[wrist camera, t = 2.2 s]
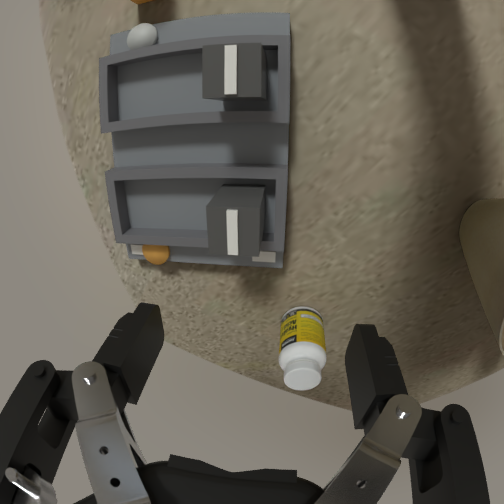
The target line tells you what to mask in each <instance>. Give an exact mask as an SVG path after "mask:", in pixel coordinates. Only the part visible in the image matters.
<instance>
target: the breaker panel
mask: <svg viewBox="0 0 504 504" xmlns="http://www.w3.org/2000/svg"><path fill="white" fill-rule="evenodd" d="M230 43H262V46H263V49H264V52H265V54H266V57H267V101H266V100H236V101H220V100H212V99H203V98H202V48H203V46H204V45H215V44H230ZM99 103H100V124H101V133H108V132H112V145H113V156H114V166H115V167H114V168H112V169H110V170H108V171H106V172H105V177H106V185H107V192H108V199H109V205H110V211H111V217H112V223H113V229H114V234H115V239H116V243H125V244H126V246H127V251H128V256H129V258H130V259H144V260H148V261H149V262H150V263H152V264H156V265H160V264H163V263H164V262H166V261H173V262H188V263H204V264H220V265H236V266H254V267H272V268H282V267H283V252H284V240H285V222H286V202H287V179H288V140H289V116H290V13H235V14H221V15H210V16H201V17H193V18H186V19H180V20H174V21H168V22H163V23H158V24H153V25H151V24H148V23H142V24H139V25H137V26H135V27H134V28H133V29H131V30H128V31H124V32H120V33H117V34H113V35H111V39H110V55H109V56H106V57H102V58H99ZM223 184H254V185H266V188H265V225H264V231H263V237H262V242H261V248H260V254H259V257H252V256H234V255H216V254H209V249H208V234H207V218H206V206H207V204H208V203H209V202H210V200H211V199H212V198H213V197H214V195H215V194H216V193H217V191H218V190H219V189H220V188H221V186H222V185H223Z"/></svg>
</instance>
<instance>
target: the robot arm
mask: <svg viewBox="0 0 504 504" xmlns="http://www.w3.org/2000/svg"><path fill="white" fill-rule="evenodd" d="M163 342H164V329H163V324H162V318H161V313H160V308H159V306H158V305H155V304H148V303H140V304H139V305H138V307H137V308H136V310H135V311H134V313H127V314H126V315H124V316H123V317H122V318H120V319H119V320H118V322H117V323H116V325H115V326H114V329H113V330H112V331H111V332H110V334H109V336H108V337H107V339H106V340H105V342H104V343H103V345H102V346H101V348H100V349H99V351H98V353H97V354H96V356H95V357H94V359H93V360H92V361H90V362H85V363H82V364H80V365H79V366H78V367H76V368H75V370H74V371H59V370H55V368H54V366H53V365H52V363H51V362H49V361H46V360H40V361H36V362H34V363H33V364H31V365H30V366H29V368H28V369H27V370H26V372H25V374H24V375H23V377H22V378H21V380H20V381H19V383H18V385H17V386H16V388H15V390H14V391H13V393H12V394H11V396H10V398H9V400H8V402H7V403H6V405H5V407H4V408H3V410H2V412H1V414H0V504H57V499H56V494H55V490H54V488H53V486H52V483H53V480H54V477H55V475H56V472H57V469H58V467H59V464H60V461H61V459H62V456H63V454H64V451H65V449H66V446H67V444H68V442H69V439H70V437H71V434H72V432H73V430H74V427H75V426H76V432H77V436H78V441H79V445H80V449H81V452H82V456H83V460H84V463H85V467H86V470H87V473H88V477H89V480H90V483H91V486H92V489H93V492H94V493H93V494H91V495H90V496H88V497H86V498H84V499H82V500H80V501H78V502H76V503H74V504H377V502H378V501H379V499H380V498H381V496H382V495H383V493H384V492H385V490H386V488H387V487H388V485H389V483H390V482H391V480H392V479H393V477H394V475H395V474H396V472H397V470H398V468H399V466H400V464H401V460H400V458H401V457H402V458H408V459H409V466H410V475H411V486H412V498H413V504H490V499H489V493H488V487H487V482H486V476H485V472H484V467H483V462H482V458H481V454H480V450H479V446H478V443H477V439H476V435H475V431H474V428H473V425H472V421H471V418H470V415H469V413H468V412H467V410H466V409H465V408H464V407H462V406H460V405H457V404H450V405H447V406H446V407H445V408H444V409H443V410H442V411H441V412H440V411H434V410H429V409H424V408H421V406H420V404H419V402H418V401H417V400H416V399H415V398H413V397H412V396H409V395H408V393H407V389H406V386H405V383H404V380H403V376H402V373H401V370H400V367H399V366H398V361H397V358H395V356H396V355H395V352H394V349H393V347H392V345H391V344H390V343H389V342H388V340H387V339H386V338H385V337H379V336H378V333H377V330H376V327H375V325H371V324H356V325H355V327H354V330H353V333H352V336H351V339H350V341H349V344H348V347H347V350H346V355H345V366H346V372H347V378H348V385H349V391H350V398H351V404H352V412H353V419H354V426H355V429H364V433H365V436H364V437H363V438H362V440H361V441H360V443H359V444H358V445H357V447H356V448H355V450H354V451H353V452H352V454H351V455H350V456H349V458H348V459H347V460H346V462H345V463H344V464H343V466H342V467H341V468H340V469H339V471H338V472H337V473H336V474H335V475H334V477H333V478H332V479H331V480H330V481H329V482H328V484H327V485H326V486H325V487H324V488H323V489H322V488H321V487H319V486H318V485H316V484H314V483H313V482H310V481H308V480H306V479H303V478H299V477H297V470H279V469H260V470H252V471H244V472H228V471H226V470H223V469H220V468H218V467H215V466H213V465H210V464H208V463H205V462H203V461H200V460H195V459H190V458H185V457H180V456H176V455H171V454H170V458H169V461H158V462H153V463H149V464H147V462H146V460H145V458H144V456H143V454H142V452H141V450H140V449H139V446H138V444H137V442H136V439H135V436H134V434H133V431H132V429H131V426H130V423H129V421H128V418H127V415H126V412H125V410H124V408H125V406H126V404H127V402H128V403H132V404H135V405H136V404H137V402H138V400H139V397H140V395H141V393H142V390H143V388H144V386H145V383H146V381H147V379H148V377H149V375H150V372H151V370H152V368H153V366H154V363H155V361H156V359H157V357H158V354H159V352H160V350H161V348H162V346H163ZM46 408H47V409H46ZM45 409H46V411H45ZM44 411H45V413H44ZM43 413H44V415H43ZM42 415H43V417H42ZM41 417H42V419H41ZM40 419H41V421H40ZM39 421H40V423H39ZM77 421H78V422H77ZM38 423H39V425H38Z"/></svg>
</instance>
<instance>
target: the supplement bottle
mask: <svg viewBox="0 0 504 504" xmlns="http://www.w3.org/2000/svg"><path fill="white" fill-rule="evenodd" d="M325 363H326V347H325V337H324V327H323V320H322V317H321V315H320V314H319V312H318V311H316V310H315V309H313V308H310V307H304V306H302V307H295V308H292V309H290V310H289V311H287V312H286V313H285V315H284V316H283V318H282V321H281V333H280V348H279V364H280V367H281V368H282V370H283V371H284V382H285V384H286V385H287V386H288V387H289V388H291V389H294V390H309V389H312V388H314V387H316V386H317V385H318V384H319V383H320V381H321V369H322V368H323V367H324V365H325Z"/></svg>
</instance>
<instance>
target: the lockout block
mask: <svg viewBox="0 0 504 504" xmlns="http://www.w3.org/2000/svg"><path fill="white" fill-rule="evenodd" d="M131 1H132V2H134V3H136V4H141V3H145V2H149V1H154V0H131Z"/></svg>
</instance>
